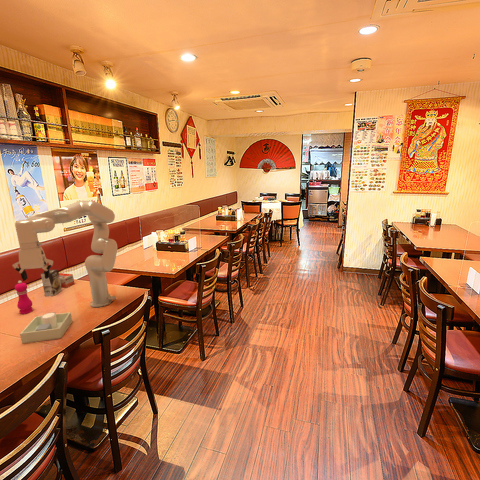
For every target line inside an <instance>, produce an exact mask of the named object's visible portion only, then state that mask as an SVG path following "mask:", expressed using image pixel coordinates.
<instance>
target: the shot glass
mask: <svg viewBox="0 0 480 480" xmlns="http://www.w3.org/2000/svg"><path fill="white" fill-rule="evenodd" d="M56 314H57V313H56V312H47V313H44V314H43V315H40V316H41V320H42V323H43V324H51V326H52V329H54V328H55V327H57V318H56Z"/></svg>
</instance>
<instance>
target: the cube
mask: <svg viewBox="0 0 480 480" xmlns="http://www.w3.org/2000/svg"><path fill="white" fill-rule="evenodd" d="M48 329H52V326H51V324H43V325H40V326H39V327H38V328H37V329H36V331H40V330H48Z"/></svg>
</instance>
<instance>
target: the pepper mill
mask: <svg viewBox="0 0 480 480" xmlns="http://www.w3.org/2000/svg"><path fill="white" fill-rule="evenodd" d="M22 281H23V280H18V281H17V283H16V284H15V285H14V290H15V291H16V295H18V301H17V309H19V313H20V315H26V314H29V313H32V312H33V310H34V308H33V301H32V300H31V298H29V295H28V285H27V283H26V282H22Z"/></svg>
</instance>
